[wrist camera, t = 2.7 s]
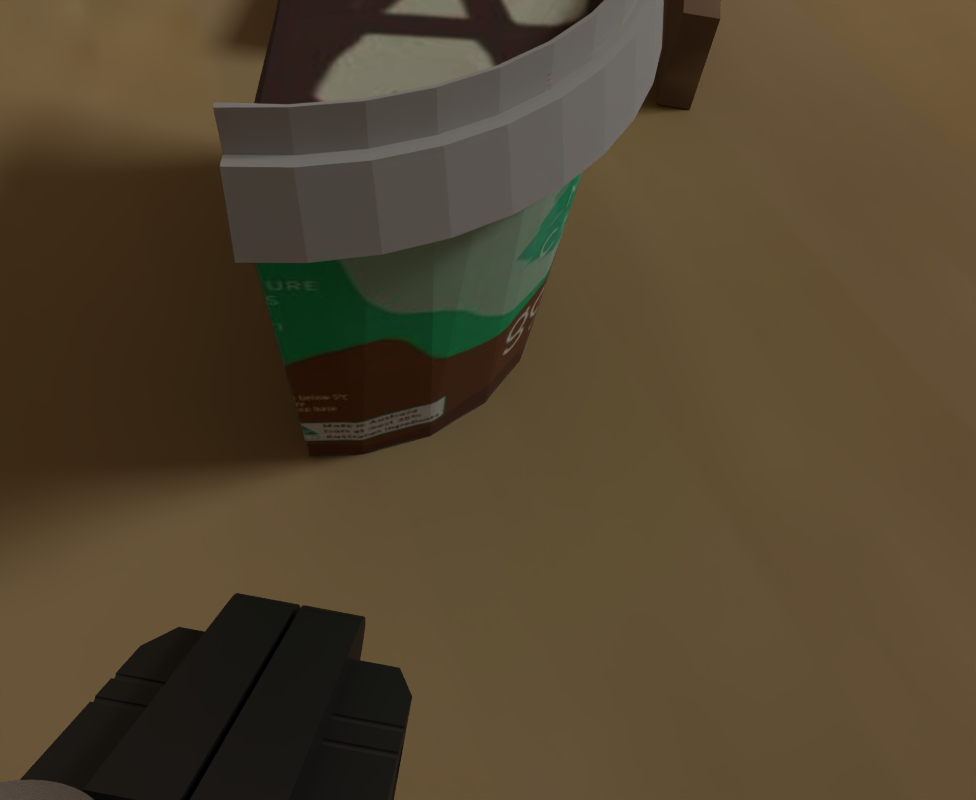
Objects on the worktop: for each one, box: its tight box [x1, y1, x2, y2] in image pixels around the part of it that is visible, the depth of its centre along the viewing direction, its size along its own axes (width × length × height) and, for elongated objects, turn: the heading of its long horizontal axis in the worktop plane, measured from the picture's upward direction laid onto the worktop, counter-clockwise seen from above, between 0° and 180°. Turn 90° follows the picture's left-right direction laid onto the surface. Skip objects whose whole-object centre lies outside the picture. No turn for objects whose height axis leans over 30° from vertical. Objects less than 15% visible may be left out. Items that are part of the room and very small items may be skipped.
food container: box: [213, 0, 664, 455], centre depth 17 cm, size 12×6×10 cm, turn 179°
